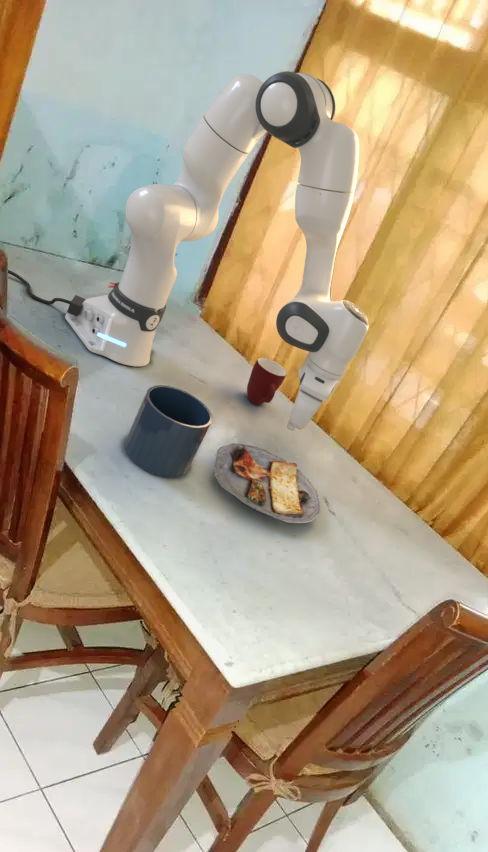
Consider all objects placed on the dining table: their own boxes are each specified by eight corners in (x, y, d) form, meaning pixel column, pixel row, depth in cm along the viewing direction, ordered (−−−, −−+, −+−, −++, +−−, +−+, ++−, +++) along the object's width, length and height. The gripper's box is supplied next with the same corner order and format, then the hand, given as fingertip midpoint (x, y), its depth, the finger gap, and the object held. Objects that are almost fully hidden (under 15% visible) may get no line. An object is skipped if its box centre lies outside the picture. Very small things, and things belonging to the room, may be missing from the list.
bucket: (110, 438, 137) (132, 387, 131) (159, 431, 148) (182, 383, 141) (152, 482, 132) (177, 431, 126) (200, 472, 142) (225, 424, 136)
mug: (277, 418, 178) (296, 384, 173) (251, 413, 173) (269, 378, 168) (261, 393, 185) (278, 360, 180) (235, 388, 180) (252, 354, 175)
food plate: (216, 437, 156) (222, 424, 155) (310, 478, 161) (318, 466, 160) (206, 501, 135) (214, 487, 134) (316, 545, 140) (324, 532, 139)
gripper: (311, 353, 163) (284, 403, 170) (301, 384, 145) (271, 438, 152) (336, 366, 163) (307, 415, 170) (328, 399, 146) (297, 452, 153)
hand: (290, 427), depth 161 cm, fingers closed
